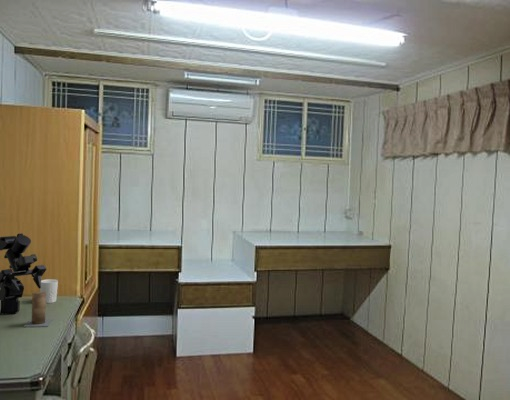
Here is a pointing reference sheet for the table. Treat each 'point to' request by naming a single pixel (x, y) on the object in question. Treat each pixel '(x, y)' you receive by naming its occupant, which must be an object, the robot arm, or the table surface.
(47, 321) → the slate mat
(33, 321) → the walnut cylinder
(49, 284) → the white cup
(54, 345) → the table surface
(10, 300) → the robot arm
